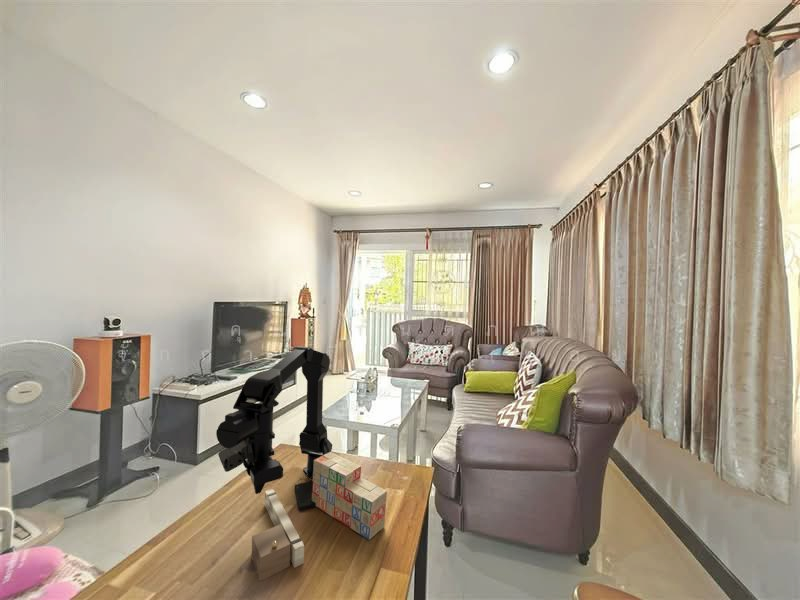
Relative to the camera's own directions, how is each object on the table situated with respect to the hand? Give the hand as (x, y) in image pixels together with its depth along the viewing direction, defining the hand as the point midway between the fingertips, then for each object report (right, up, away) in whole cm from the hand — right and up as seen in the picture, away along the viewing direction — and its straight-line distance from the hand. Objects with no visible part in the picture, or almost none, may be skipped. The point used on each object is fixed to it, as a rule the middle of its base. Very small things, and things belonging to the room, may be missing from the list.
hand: (257, 492), depth 76 cm
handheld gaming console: (+9, -10, +15) cm, 20 cm away
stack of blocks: (+20, -11, +7) cm, 24 cm away
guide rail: (+5, -10, +1) cm, 11 cm away
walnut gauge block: (+6, -10, -8) cm, 14 cm away
